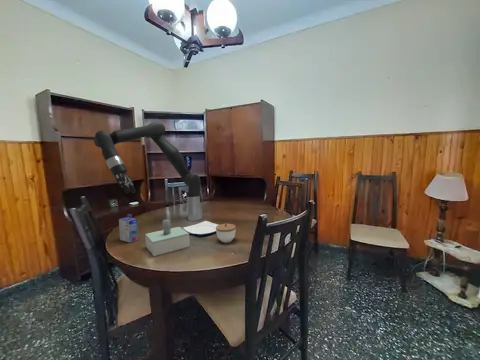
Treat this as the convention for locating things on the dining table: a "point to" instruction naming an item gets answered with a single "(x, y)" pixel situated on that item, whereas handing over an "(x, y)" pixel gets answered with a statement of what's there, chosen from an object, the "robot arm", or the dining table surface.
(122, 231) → the ink cartridge box
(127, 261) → the dining table surface
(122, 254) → the dining table surface
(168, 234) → the lid
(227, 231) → the lidded jar
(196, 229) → the plate
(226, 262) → the dining table surface
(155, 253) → the open box
